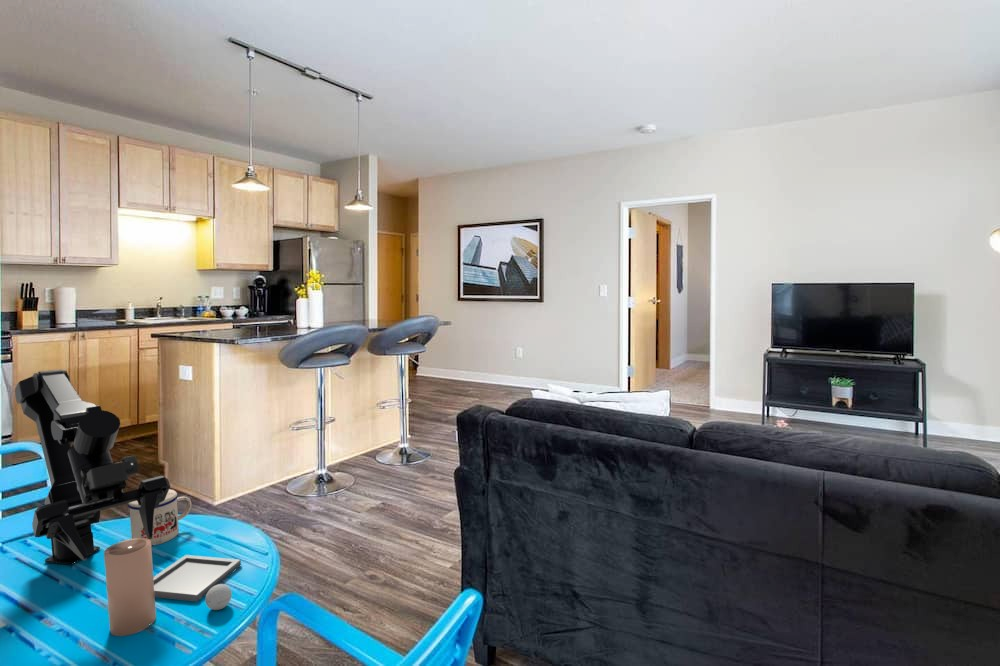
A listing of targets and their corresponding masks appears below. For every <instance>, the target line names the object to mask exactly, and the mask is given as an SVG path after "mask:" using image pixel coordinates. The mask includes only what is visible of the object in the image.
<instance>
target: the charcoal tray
mask: <svg viewBox="0 0 1000 666" xmlns="http://www.w3.org/2000/svg"><path fill="white" fill-rule="evenodd" d="M241 563H242V562H241V559H239V558H238V559H236V558H234V559H233V558H225V557H214V556H202V555H190V554H184V556H182V557H181V558H179V559H177V560H175V562H173V563H172V564H170V565H169V566H167V567H166V568H164V569H163V570H161V571H160V572H159V573H157V574H156V575H153V580H154V594H155V598H159V599H160V598H161V599H168V600H169V599H170V600H178V601H179V600H181V601H187V602H188V601H190V602H199V601H200V600H201V599H202V598H203V597H204V596H205V597H206V594H207V592H208V591H209V590H210V589H211V588H212V587H213V586H215V585H218V584H221V582H222V581H224V580H225V579H227V576H228V575H229V574H230V573H231V574H233V573H234V572H235V571H236V570H237V569H238V567H239V566H240V565H241V566H242V564H241ZM241 566H240V567H241ZM240 567H239V568H240ZM235 569H236V570H235ZM234 570H235V571H234ZM233 571H234V572H233ZM231 574H230V575H231ZM230 575H229V576H230ZM229 576H228V577H229Z"/></svg>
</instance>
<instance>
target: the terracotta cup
mask: <svg viewBox="0 0 1000 666" xmlns="http://www.w3.org/2000/svg"><path fill="white" fill-rule="evenodd" d="M152 554H153V553H152V546H151V541H150V540H149V539H146V538H134V539H132V538H129V539H125V540H122V541H119V542H116V543H114V544H112V545H110V546H108V547H107V548H106V549H105V550H104V551H103V555H104V557H103V558H104V570H105V572H104V573H105V583H106V584H105V585H106V595H107V607H108V608H107V609H108V622H109V631H110V634H111V635H113V636H116V637H126V636H130V635H135V634H136V633H139V632H142V631H144V630H146V629H147V628H149V627H150V626H149V624H151V623H152V624H154V622H155V621H156V619H157V615H156V613H157V609H156V597H155V594H154V580H153V577H154V569H153V567H154V566H153V555H152ZM152 624H151V625H152Z"/></svg>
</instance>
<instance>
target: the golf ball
mask: <svg viewBox="0 0 1000 666" xmlns="http://www.w3.org/2000/svg"><path fill="white" fill-rule="evenodd" d="M232 593H233V592H232V590H231V588H230V587H229V586H228V585H227V584H223V583H219V584H218V585H215V586H213V587H212V588H211V589H210V590H209V591H208V592H207V594H206V595H205V598H204V599H205V600H204V601H205V605H206V606H207V607H208V608H209V609H210V610H213V611H218V610H219V611H220V610H222V609H225V608H226V607H227V605H228V604H230V601H231V600H232V596H233V595H232Z"/></svg>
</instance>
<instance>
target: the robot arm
mask: <svg viewBox="0 0 1000 666" xmlns="http://www.w3.org/2000/svg"><path fill="white" fill-rule="evenodd" d="M14 393H15V394H14V396H15V397H14V398H15V400H16V403H17V404H20V406H21V410H22V414H24V415H25V416H26V417H27V418H29V419H31V420H32V421H34V422H35V424H36V429H37V432H38V436H39V440H40V444H41V449H42V453H43V458H44V460H45V466H46V469H47V474H48V477H49V482H50V490H49V491H48V493H47V496H46V497H45V500H44V504H43V505H39V506H38V507H37V508H36V509H35V510H34V514H33V519H32V524H31V525H32V531H33V535H34V537H35V538H41V537H45V538H46V539H47V540H50V543H51V553H52V554H51V556H49V557H46V558H45V559H44V562H45V563H49V564H58V565H59V564H61V565H73V564H72V563H74V562H76V563H78V562H80V561H81V560H82V561H83V562H85V561H87V559H88V556H90V555H93V554H94V553H96V552H98V551H99V550H100V549H101V546H98V545H97V546H96V545H95V544H94V543H95V542H94V532H92V525H93V524H97V523H100V520H101V511H104V510H107V509H111V508H115V507H118V506H122V505H126V504H128V503H130V502H133V501H138V504H139V505H140V506H141V507H140V509H139V513H140V516H141V520H142V523H143V527H144V530H145V533H146V536H147V537H148V539H151V538H152V533H153V516H154V509H155V508H157V507H158V505H159V503H161V502H162V501H164V500H165V498H166V495H167V493H168V491H169V489H170V488H171V483H170V481H169V479H168V478H167V477H165V476H164V475H159V476H155V477H151V478H147V479H142V480H141V481H140V483H139V485H138V488H136V489H132V490H128V491H123V490H124V489H126V488H127V482H126V481H129V477H131V476H134V475H136V474H138V473H139V472H140V467H139V463H138V460H137V458H136V455H135V454H134V455H130V456H129V455H128V456H125V457H122V458H121V459H120V462H119V461H118V462H114V460H113V458H112V456H111V453H110V450H112V449H113V448H114V445H115V441H116V439H117V436H118V434H119V433H118V432H119V429H120V427H121V419H120V417H119V416H117V415H116V414H115V413H113V412H111V411H108V410H103V409H102V407H101V405H96V404H94V403H93V402H88V401H84V400H83V399H82V397H81V396H80V395H79V393H78V392H77V390H76V389H75V387H74V386H73V384H72V383H71V378H70V375H69V374H68V371H67V369H62V368H61V369H52V370H50V369H49V370H39V371H38V372H34V373H33V375H32V376H29V377H28V378H25V379H22V380H20V381H18V382H17V384H16V386H15V388H14ZM71 444H72V445H71ZM170 490H171V489H170ZM77 561H78V562H77ZM74 564H75V563H74Z"/></svg>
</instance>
